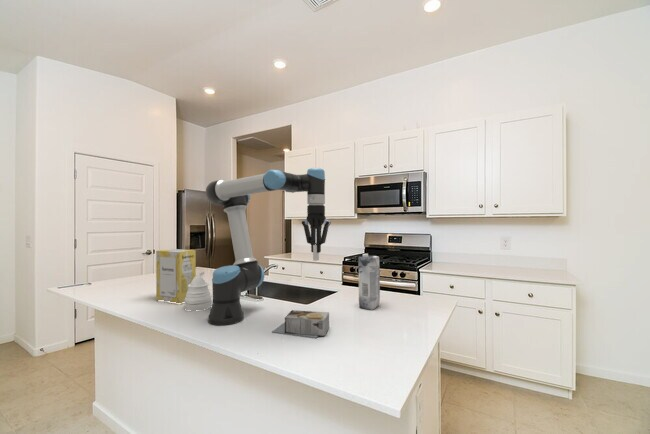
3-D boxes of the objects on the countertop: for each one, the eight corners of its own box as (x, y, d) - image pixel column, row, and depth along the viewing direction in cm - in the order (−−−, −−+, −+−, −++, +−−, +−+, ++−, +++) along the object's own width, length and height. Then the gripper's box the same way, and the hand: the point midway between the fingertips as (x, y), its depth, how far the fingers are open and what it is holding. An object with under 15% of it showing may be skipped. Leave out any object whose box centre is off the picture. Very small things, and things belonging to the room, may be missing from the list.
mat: (271, 332, 118) (271, 331, 118) (287, 321, 131) (287, 320, 131) (316, 338, 111) (316, 337, 111) (328, 325, 124) (328, 325, 124)
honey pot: (202, 302, 161) (202, 269, 162) (216, 306, 154) (216, 271, 154) (179, 308, 151) (179, 273, 151) (193, 313, 143) (193, 275, 144)
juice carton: (381, 305, 153) (381, 253, 153) (373, 311, 144) (372, 255, 144) (365, 303, 158) (365, 252, 158) (356, 308, 149) (356, 254, 149)
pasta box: (156, 301, 165) (156, 250, 165) (172, 296, 175) (172, 249, 175) (179, 304, 158) (179, 252, 158) (195, 299, 168) (195, 250, 168)
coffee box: (329, 327, 121) (292, 325, 125) (329, 312, 121) (292, 309, 125) (324, 336, 112) (284, 333, 116) (324, 319, 112) (284, 316, 116)
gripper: (298, 204, 126) (298, 260, 126) (327, 204, 121) (327, 262, 121) (306, 205, 133) (305, 258, 133) (333, 205, 128) (333, 259, 128)
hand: (316, 260), depth 127 cm, fingers closed
